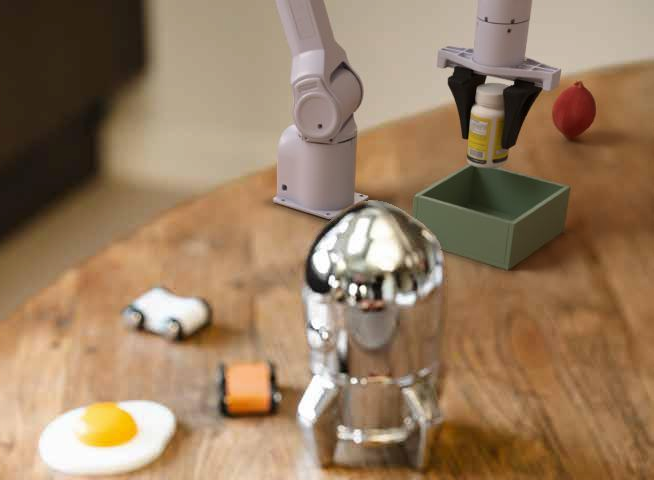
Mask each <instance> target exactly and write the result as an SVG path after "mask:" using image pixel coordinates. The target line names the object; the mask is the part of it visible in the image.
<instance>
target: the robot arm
mask: <svg viewBox="0 0 654 480" xmlns="http://www.w3.org/2000/svg"><path fill="white" fill-rule="evenodd" d="M274 2H275V5H276V8H277V12H278V14H279V18H280V21H281V24H282V25H281V26H282V28H283V31H284V35H285V38H286V41H287V45H288V49H289V51H290V54H291V58H292V60H291V61H292V62H291V63H292V64H291V72H290V80H289V81H290V82H289V83H290V87H291V92H292V97H293V104H292V108H291V109H292V110H291V111H292V112H291V116H292V119H293V123H292V124H290V125H289V126H288V127H287V128H286V129H284V131H283V132H282V134H281V136H280V139H279V142H278V145H277V150H276V151H277V152H276V196H274V197H273V198H272V202H273V203H274V204H277V205H282V206H285V207H288V208H291V209H294V210H297V211H300V212H304V213H306V214H307V213H308V214H310V215H314V216H317V217H320V218H323V219H327V220H330V219H332V218H333V217H335V216H336V215H337V214H339V213H340V212H342V211H343V210H345V209H346V208H348V207H349V206H351V205H353V204H356V203H358V202H361V201H365V200H367V201H369V196H368V195H365V194H362V193H360V192H356V174H357V173H356V172H357V171H356V168H357V146H358V145H357V144H358V126H357V123H356V120H355V117H354V116H355V114H354V113H356V112H357V111H358V109H359V108H360V106H361V105H362V102H363V99H364V94H365V93H364V84H363V81H362V79H361V77H360V75H359V74H358V73H357V72H356V70H355V69H354V68H353V67H352V65H351V64H350V61H349V59H348V56H347V52H346V50H345V49H344V48H343V47H342V46H341V45H340V44H339V43H338V42H337V40H336V39H335V36H334V32H333V29H332V25H331V22H330V17H329V15H328V10H327V7H326V4H325V0H274ZM532 6H533V0H478V2H477V10H476V11H477V12H476V13H477V14H476V22H475V31H474V42H473V48H471V47H461V46H459V47H458V46H452V45H445V46H444V47H441V48H439V49H438V50H437V59H436V68H440V69H446V68H449V69H453V72H452V75H450V76H448V77H447V86H448V88H449V90H450V92H451V94H452V97H453V99H454V103H455V105H456V109H457V114H458V118H459V124H460V132H461V139H463V140H467V141H468V138H469V127H470V116H471V108H472V106H473V105H474V104H475V103H476V101H475V96H476V90H477V87H478V86H479V85H482V84H486V81H487V77H491V78H496V79H500V80H505V81H510V82H513V84H510V85H508V86H509V87H507V88H505V89H503V98H504V128H503V135H502V149H506V150H508V149H509V150H510V149H511V148H513V147H515V146H516V145H517V141H518V138H519V136H520V132H521V129H522V127H523V125H524V122H525V120H526V118H527V116H528V114H529V111H530V110H531V108H532V107H533V106H534V104H535V102H536V100H537V98H538V97H539V95H540V94H541V93H542V91H546V92H552V91H554V90H556V89H557V88H560V82H561V75H562V68H560V67H554V66H551V65H548V64H546V63H543V62H540V61H538V60H535V59H533V58H530V57H527V56H526V51H527V44H528V36H529V29H530V21H531V14H532V13H531V12H532ZM330 221H331V220H330Z"/></svg>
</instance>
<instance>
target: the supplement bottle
mask: <svg viewBox="0 0 654 480" xmlns="http://www.w3.org/2000/svg"><path fill="white" fill-rule="evenodd" d="M509 86H510V85H508V84H506V83H500V82H487V83H486V82H485V84H482V85H479V86H478V87H477V90H476V96H475V101H476V103H475V104H474V105H473V106H472V108H471V116H470V127H469V138H468V139H467V151H466V161H467V164H471V165H472V166H475V167H478V168H502V167H503V166H505V165H506V164H507V163H508V158H509V151H510V148H509V149H508V150H506V149H502V135H503V128H504V98H503V89H505V88H507V87H509Z"/></svg>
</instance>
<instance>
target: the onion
mask: <svg viewBox="0 0 654 480" xmlns="http://www.w3.org/2000/svg"><path fill="white" fill-rule="evenodd" d="M596 105H597V104H596V101H595V97H594V95H593V94H592V92H591V91H590V90H589V89H588V88H587V87H585V86H584V84H583V80H581V79H577V80H575V81H574V83H573V85H571V86H569V87H567V88H566V89H564V90H563V91H562V92H561V93H560V94H559V96H558V97H556V99H555V101H554V103H553V105H552V109H551V118H552V122H553V125H554V127H555V128H556V129H557V130H558V131H559V132H560V134H562V135H563V137H564V138H565V139H567V140H574V139H575V138H576V137H578V136H580V135H581V134H583V133H585V132H586V131H587V130H588V129H590V128H591V126H592V124H593V123H594V121H595V119H596V116H597V106H596Z"/></svg>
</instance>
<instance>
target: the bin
mask: <svg viewBox="0 0 654 480" xmlns="http://www.w3.org/2000/svg"><path fill="white" fill-rule="evenodd" d="M571 188H572V186H570V185H566V184H563V183H559V182H555V181H553V180H547V179H544V178H540V177H537V176H533V175H529V174H525V173H521V172H517V171H514V170H510V169H506V168H502V167H498V168H478V167H475V166H472V165H471V164H469V163H467V164H465V165H463V166H462V167H461V168H459V169H456V170H455V171H453V172H452V173H450V174H448V175H447V176H445V177H443V178H442V179H440V180H438V181H436V182H434V183H433V184H431V185H429V186H428V187H426V188H424V189H423V190H421V191H419V192H418V193H416V194H414V195H413V201H412V202H413V203H412V214H411V215H412V216H411V218H412V217H414V218H415V219H417V220H418V221H420V222H421V223H423V224H424V225H425V226H426V227H427V228H428V229H430V231H431V232H432V233H433V234H434V235H435V236H436V238H437V240H438V241H439V243H440V246H441V248H442V250H441V251H444V252H448V253H450V254H454V255H457V256H460V257H464V258H467V259H469V260H472V261H473V260H474V261H477V262H480V263H483V264H486V265H490V266H493V267H496V268H499V269H502V270H505V271H510V270H511V269H512V268H514V267H515V266H516V265H518V264H519V263H521V262H522V261H524V260H525V259H526V258H528V257H529V256H531V255H533V253H534V252H536V251H538V250H539V249H540V248H542V247H543V246H545V245H546V244H548V243H549V242H551V241H552V240H553V239H554V238H556V237H557V236H559V235H560V234H562V233H563V232H564V231H565V225H566V219H567V213H568V207H569V201H570V195H571Z"/></svg>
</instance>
